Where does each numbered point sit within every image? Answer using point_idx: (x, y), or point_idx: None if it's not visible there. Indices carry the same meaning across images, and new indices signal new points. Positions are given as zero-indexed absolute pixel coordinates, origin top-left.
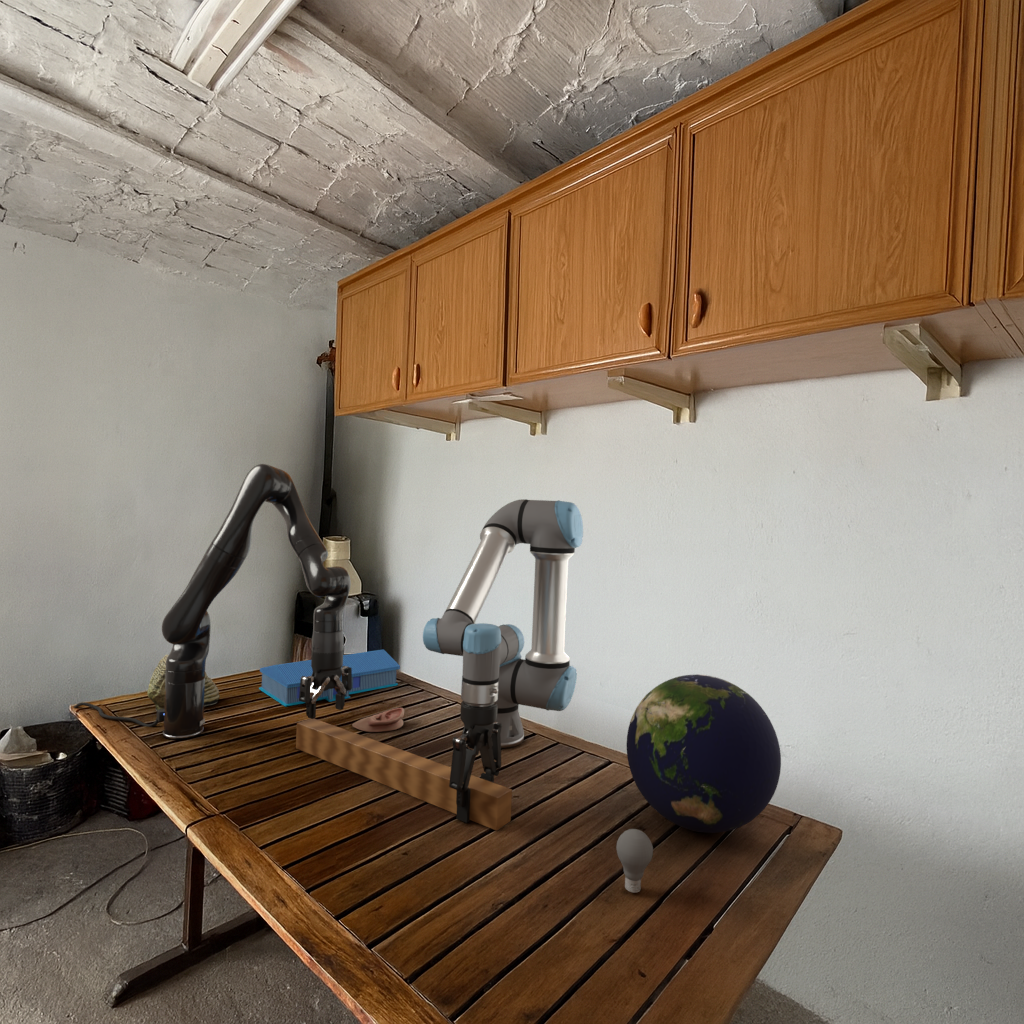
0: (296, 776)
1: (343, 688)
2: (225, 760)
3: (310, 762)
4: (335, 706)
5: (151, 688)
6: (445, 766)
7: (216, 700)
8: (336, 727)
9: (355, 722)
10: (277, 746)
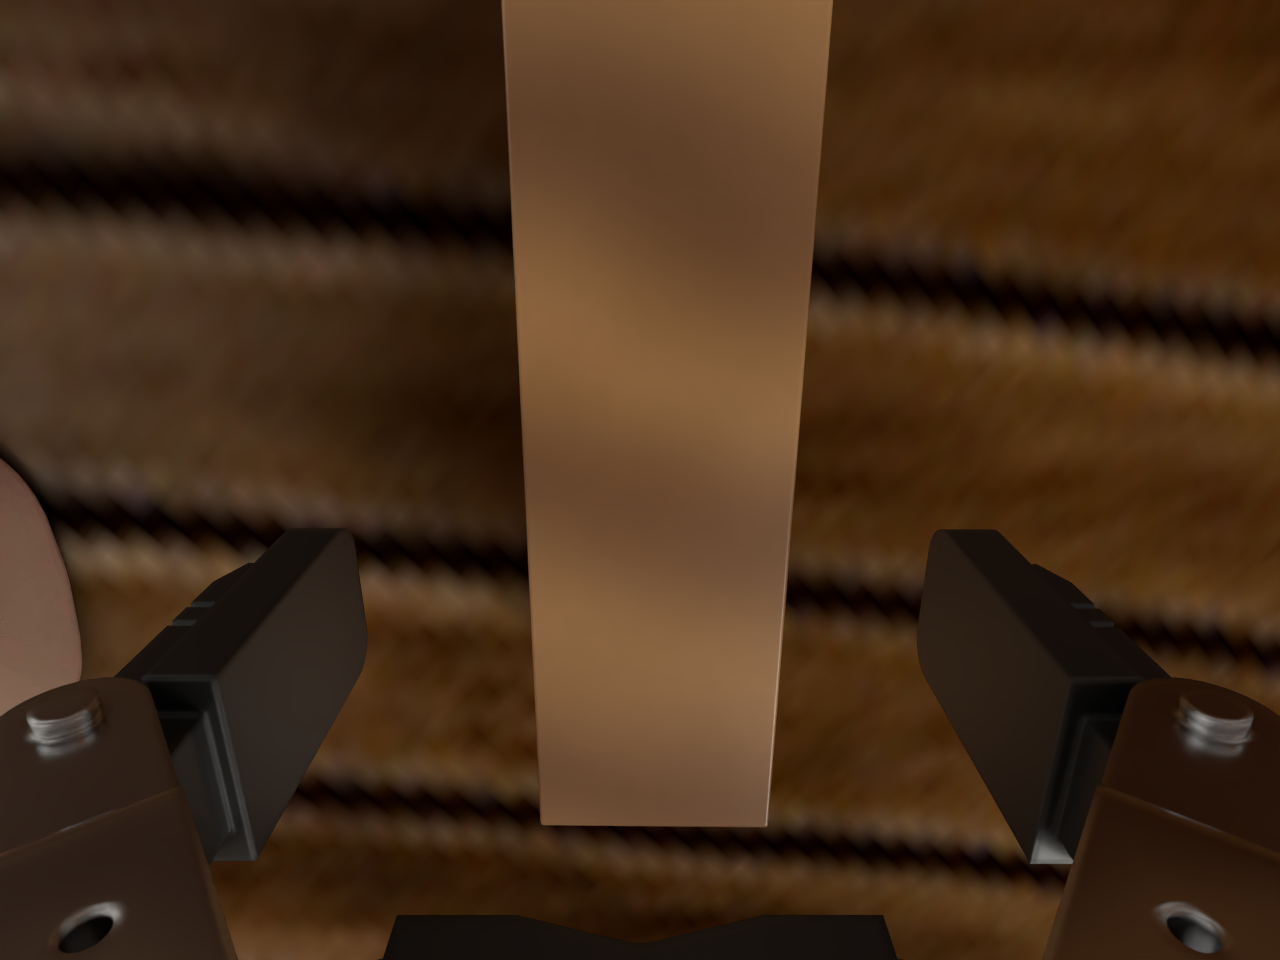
0: (1182, 165)
1: (24, 814)
2: None
3: (870, 329)
4: (357, 676)
5: None
6: None
7: None
8: (549, 372)
9: (23, 695)
10: (796, 783)
